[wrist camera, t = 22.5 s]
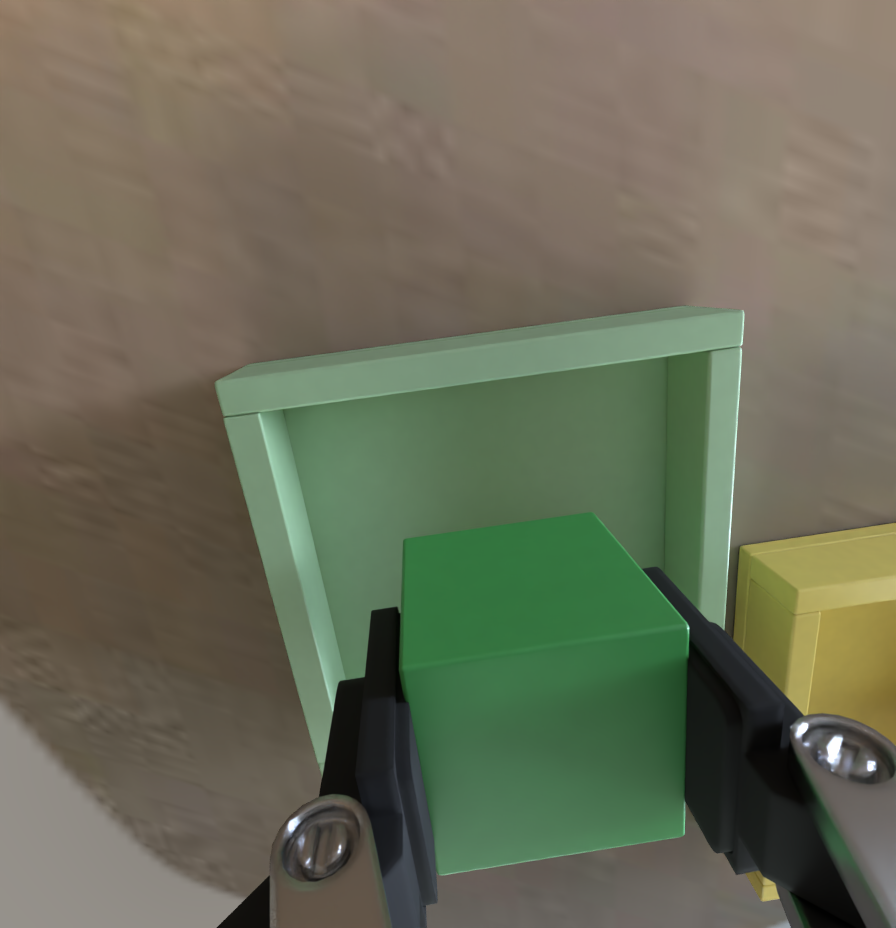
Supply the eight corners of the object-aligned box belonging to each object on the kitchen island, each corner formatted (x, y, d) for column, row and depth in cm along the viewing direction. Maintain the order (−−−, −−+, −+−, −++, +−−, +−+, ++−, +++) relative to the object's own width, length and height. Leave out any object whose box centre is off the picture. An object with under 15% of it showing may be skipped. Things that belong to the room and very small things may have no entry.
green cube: (402, 537, 12) (397, 668, 8) (593, 510, 12) (691, 624, 8) (428, 694, 14) (436, 878, 9) (599, 669, 14) (686, 838, 9)
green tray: (247, 364, 14) (211, 381, 11) (686, 304, 14) (746, 309, 11) (334, 714, 17) (322, 785, 15) (676, 660, 18) (720, 721, 15)
